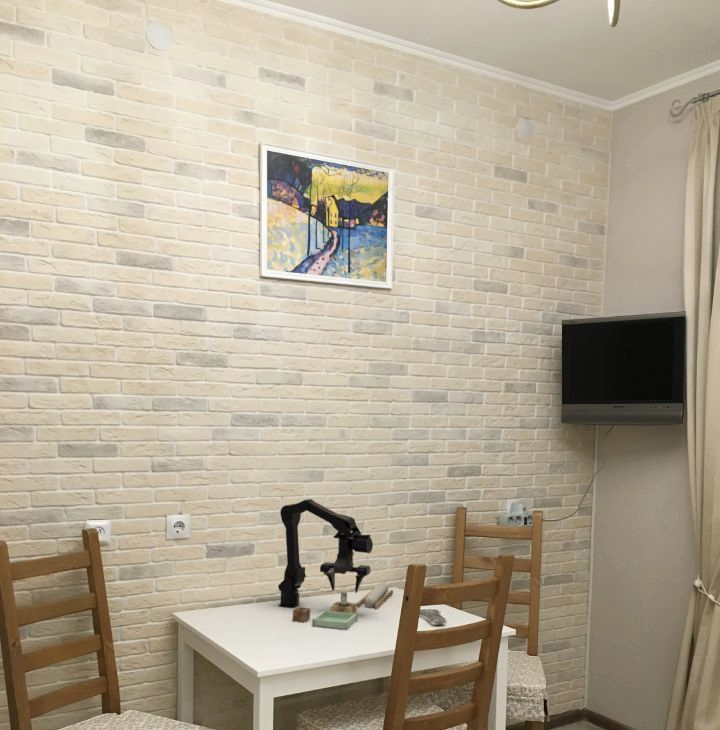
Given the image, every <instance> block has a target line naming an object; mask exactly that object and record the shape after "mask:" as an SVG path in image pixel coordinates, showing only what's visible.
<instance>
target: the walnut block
mask: <svg viewBox="0 0 720 730" xmlns="http://www.w3.org/2000/svg"><path fill="white" fill-rule="evenodd" d="M309 620H311V607H303V606H302V607H300V606H296V608H295V607H294V609H292V622H295V621H298V623H304V622H305V623H307V622H309ZM306 621H307V622H306Z"/></svg>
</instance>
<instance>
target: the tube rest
mask: <svg viewBox="0 0 720 730" xmlns="http://www.w3.org/2000/svg"><path fill="white" fill-rule="evenodd" d="M371 592H372V590H370V591H369V592H368V593H367V594H366V595H365V596H364V597H362V598H360V600H359V601H357V602H356V603H357V607H359V608H361V607H362V606H363V605H365V604H364V601H365V598H366V597H367V596H368V595H369V594H370V593H371ZM392 594H393V595H394V590H393V589H390V590H388V592H387V593H386V594H385V595H384V596H383V597H382V598H381V599H380V600H379V601H378V602H377V603H376V604H375V605H374V607H373V608H374V610H376V609H377V608H378V607H379V606H380V605H381V604H382V603H383V602H384V603H386V602H387V601H388V600H389V599H390V598H391V597H392V596H393V595H392ZM391 595H392V596H391ZM390 596H391V597H390ZM389 597H390V598H389ZM388 598H389V599H388ZM387 599H388V600H387ZM386 600H387V601H386ZM384 603H383V604H384ZM362 604H363V605H362ZM383 604H382V605H383ZM361 605H362V606H361ZM382 605H381V606H382ZM360 606H361V607H360ZM381 606H380V607H381ZM380 607H379V608H380ZM379 608H378V609H379ZM378 609H377V610H378Z"/></svg>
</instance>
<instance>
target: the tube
mask: <svg viewBox="0 0 720 730" xmlns="http://www.w3.org/2000/svg"><path fill="white" fill-rule="evenodd" d="M371 591H372V592H371ZM371 591H370V592H371V593H370V592H369V593H370V594H369V595H368V596H367V597H366V598H365V601H364V604H363V605H364V606H365V607H367V608H371V607H373V608H374V605H375V604H376V603H377V602H378V601H379V600H380V599H381V598H382V597H384V596H385V595H386V594H387V593H388V592H389V585H388V584H387V583H385V582H381V581H379V582H378V584H376V586H375V588H373V589H372V590H371ZM384 594H385V595H384Z"/></svg>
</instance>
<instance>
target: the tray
mask: <svg viewBox="0 0 720 730" xmlns="http://www.w3.org/2000/svg"><path fill="white" fill-rule="evenodd" d="M357 621H358V613H355V614H354V613H344V612H335V611H331V610H325V609H324V610H322V611H321V612H320V613H319V614H317V615H316V616H315V617H314V618H312V619H311V622H312V623H311V624H312V625H311V626H312V627H314V626H316V627H317V628H322V629H324V628H325V629H333V630H341V631H347V630H348V629H349V628H351V627H352V626H353V625H354V624H355V623H357ZM354 622H355V623H354ZM353 623H354V624H353ZM352 624H353V625H352ZM351 625H352V626H351ZM350 626H351V627H350Z"/></svg>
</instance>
